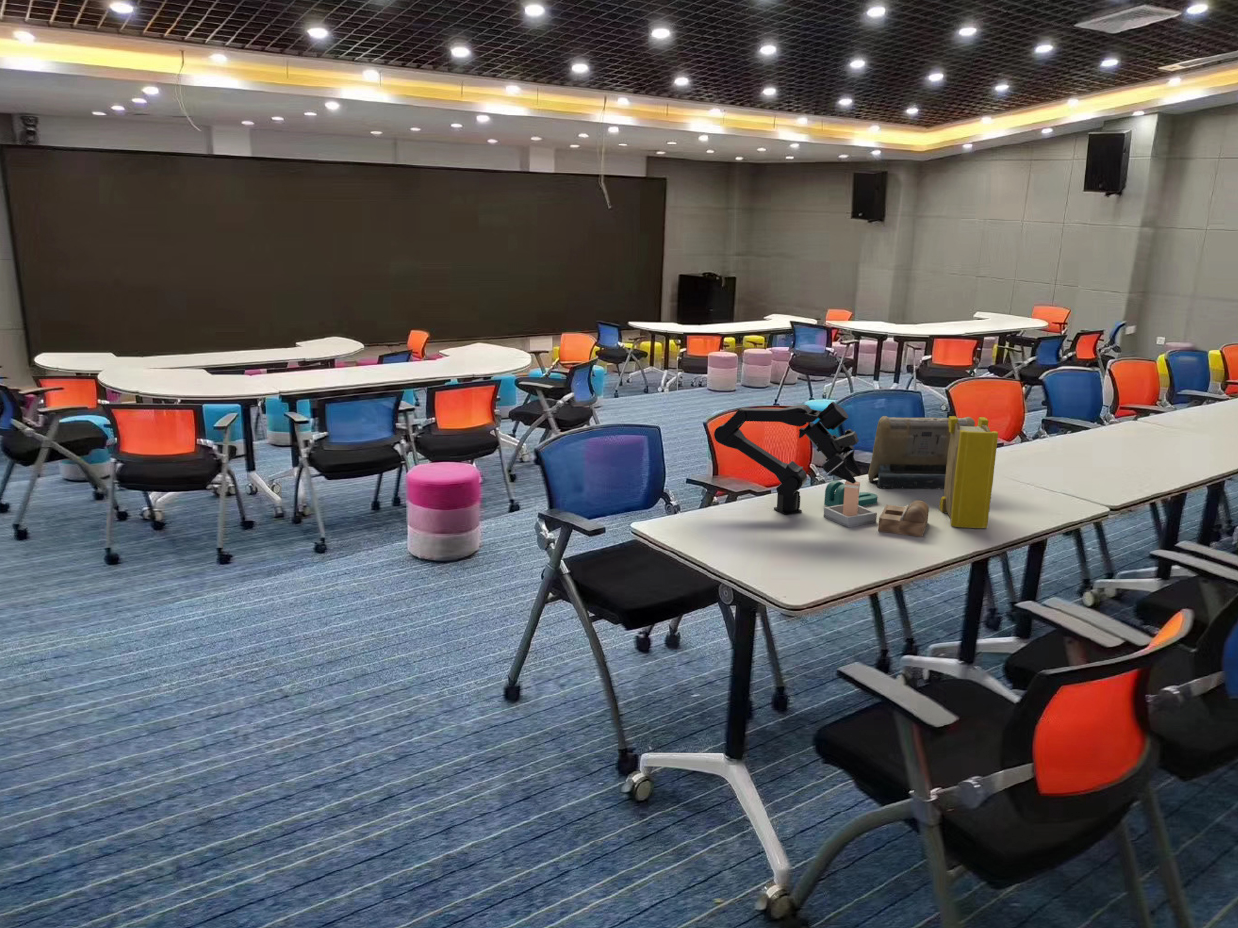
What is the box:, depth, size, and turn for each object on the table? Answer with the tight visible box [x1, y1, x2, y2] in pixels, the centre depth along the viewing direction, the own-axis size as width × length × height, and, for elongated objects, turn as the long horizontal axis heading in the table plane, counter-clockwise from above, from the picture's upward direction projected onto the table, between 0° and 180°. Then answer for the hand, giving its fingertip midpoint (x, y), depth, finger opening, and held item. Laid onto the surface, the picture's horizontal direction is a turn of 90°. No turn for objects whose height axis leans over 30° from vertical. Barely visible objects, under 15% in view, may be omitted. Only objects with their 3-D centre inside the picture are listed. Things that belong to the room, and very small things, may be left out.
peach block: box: [843, 480, 861, 517], centre depth 256 cm, size 4×2×11 cm, turn 65°
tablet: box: [867, 415, 976, 490], centre depth 291 cm, size 33×14×25 cm, turn 94°
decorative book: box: [939, 415, 999, 529], centre depth 255 cm, size 20×11×30 cm, turn 169°
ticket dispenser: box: [877, 500, 930, 538], centre depth 250 cm, size 12×14×7 cm
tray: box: [823, 504, 878, 528], centre depth 257 cm, size 11×11×3 cm
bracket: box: [823, 479, 879, 507], centre depth 272 cm, size 18×7×8 cm, turn 117°
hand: (857, 478), depth 253 cm, fingers open, 9 cm apart
